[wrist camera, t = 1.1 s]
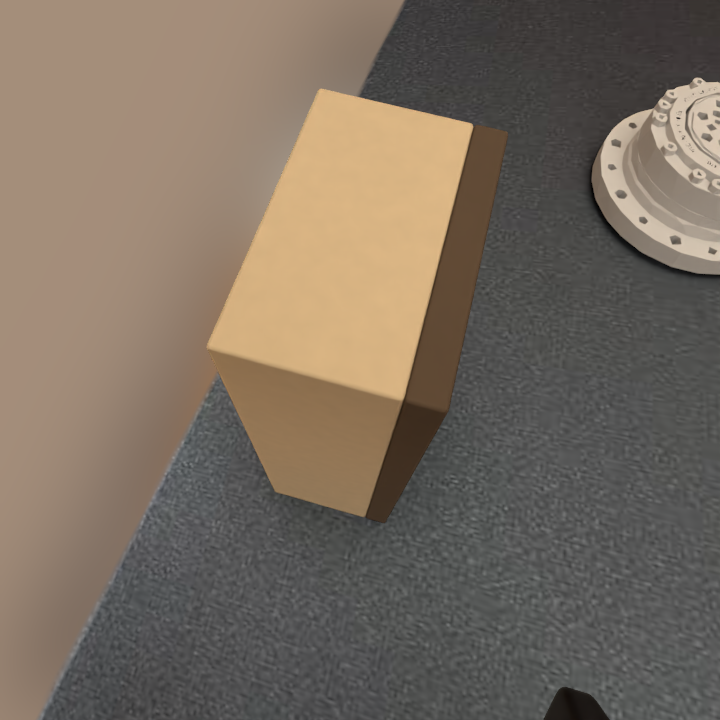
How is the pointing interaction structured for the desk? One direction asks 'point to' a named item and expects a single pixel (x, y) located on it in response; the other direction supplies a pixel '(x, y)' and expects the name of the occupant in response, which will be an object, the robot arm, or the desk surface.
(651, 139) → the mechanical component
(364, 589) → the desk surface
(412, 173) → the back pad
